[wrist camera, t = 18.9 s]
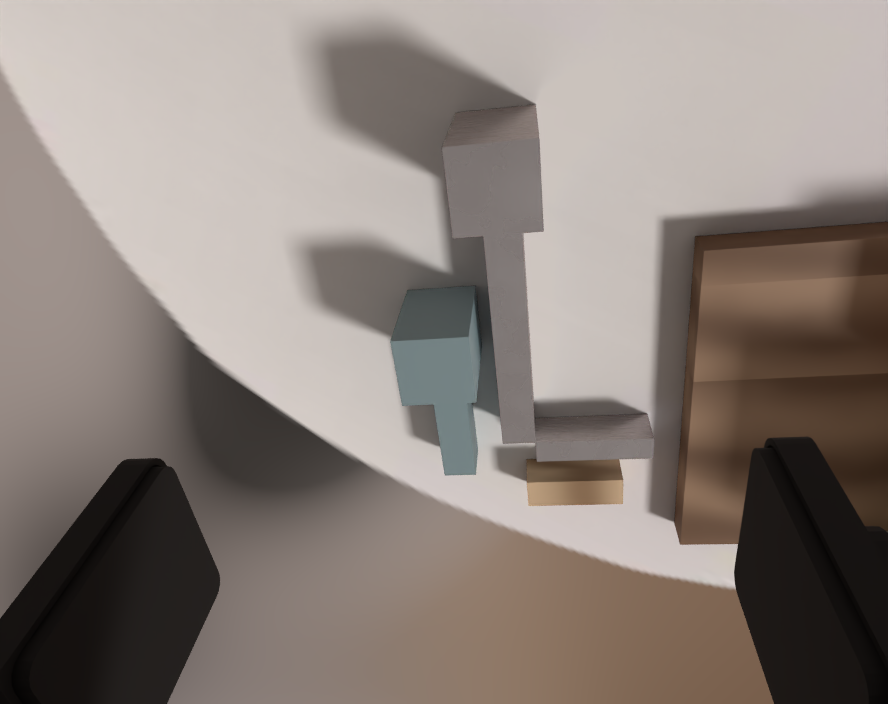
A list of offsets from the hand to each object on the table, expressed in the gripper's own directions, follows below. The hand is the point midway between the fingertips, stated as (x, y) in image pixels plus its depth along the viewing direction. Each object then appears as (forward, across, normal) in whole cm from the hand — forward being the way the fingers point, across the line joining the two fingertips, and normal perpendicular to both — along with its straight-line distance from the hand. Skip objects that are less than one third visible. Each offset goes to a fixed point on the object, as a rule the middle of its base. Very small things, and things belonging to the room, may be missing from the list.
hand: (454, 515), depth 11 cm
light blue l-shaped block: (+27, +4, +15) cm, 31 cm away
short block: (+27, -3, +23) cm, 35 cm away
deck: (+27, -22, +17) cm, 39 cm away
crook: (+27, -3, +9) cm, 28 cm away
